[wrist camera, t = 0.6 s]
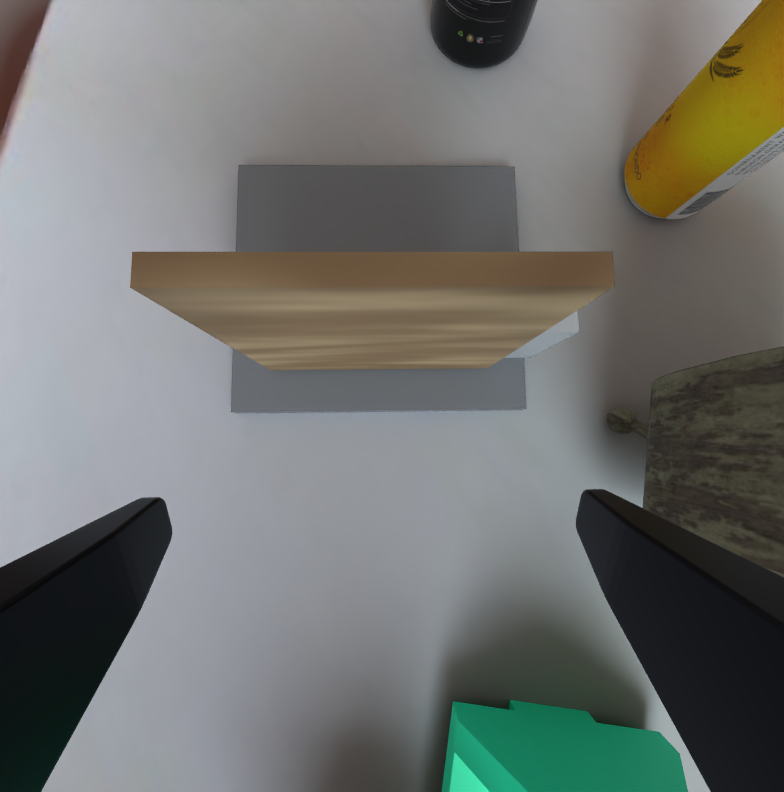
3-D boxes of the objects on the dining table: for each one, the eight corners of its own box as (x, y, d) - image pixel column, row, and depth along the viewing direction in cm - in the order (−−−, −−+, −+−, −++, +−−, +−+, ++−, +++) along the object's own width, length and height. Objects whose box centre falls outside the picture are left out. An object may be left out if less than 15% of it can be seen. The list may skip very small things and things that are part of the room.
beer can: (678, 131, 27) (1042, -243, 12) (718, 207, 27) (1151, -88, 12) (602, 161, 27) (881, -187, 12) (641, 239, 26) (986, -23, 11)
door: (487, 368, 24) (614, 286, 11) (270, 370, 23) (130, 287, 10) (486, 352, 24) (611, 252, 11) (270, 353, 23) (132, 252, 10)
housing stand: (526, 409, 25) (583, 399, 18) (237, 413, 24) (178, 403, 17) (515, 176, 26) (563, 83, 19) (244, 175, 26) (193, 79, 19)
